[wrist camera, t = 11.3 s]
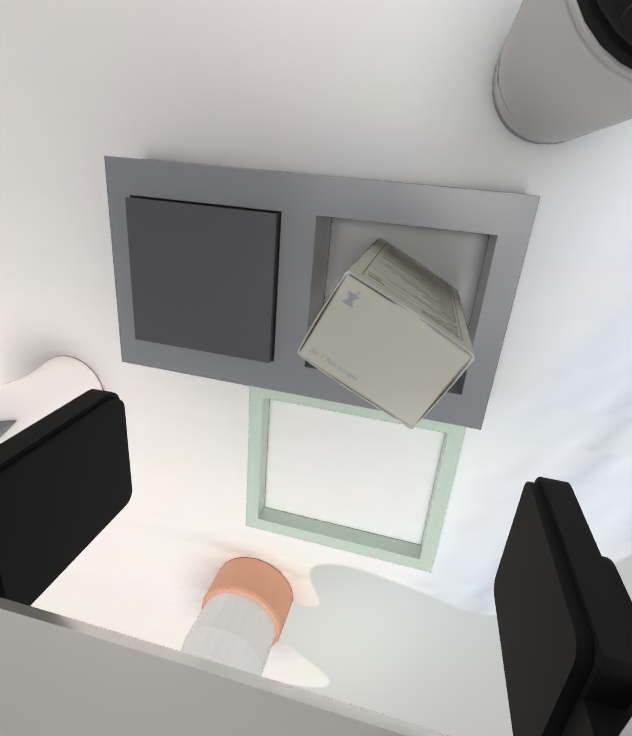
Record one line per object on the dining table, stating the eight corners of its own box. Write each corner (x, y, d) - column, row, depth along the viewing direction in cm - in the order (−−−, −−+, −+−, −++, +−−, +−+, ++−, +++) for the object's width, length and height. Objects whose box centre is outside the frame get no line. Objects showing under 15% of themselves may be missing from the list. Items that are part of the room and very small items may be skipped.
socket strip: (144, 159, 31) (97, 155, 27) (527, 194, 26) (542, 196, 22) (154, 343, 36) (116, 364, 32) (476, 401, 31) (481, 434, 27)
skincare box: (343, 292, 31) (287, 352, 20) (381, 233, 29) (342, 264, 18) (422, 345, 31) (410, 436, 20) (465, 290, 29) (479, 357, 18)
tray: (257, 374, 35) (250, 382, 33) (465, 412, 32) (466, 423, 30) (252, 514, 40) (245, 525, 38) (431, 558, 37) (431, 572, 35)
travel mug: (462, 109, 25) (508, -69, 7) (551, -26, 22) (981, -861, 4) (557, 174, 25) (836, 154, 7) (658, 47, 22) (1521, -496, 4)
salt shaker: (204, 579, 44) (50, 835, 27) (249, 544, 41) (107, 806, 24) (260, 629, 45) (144, 910, 27) (309, 597, 42) (213, 892, 24)
